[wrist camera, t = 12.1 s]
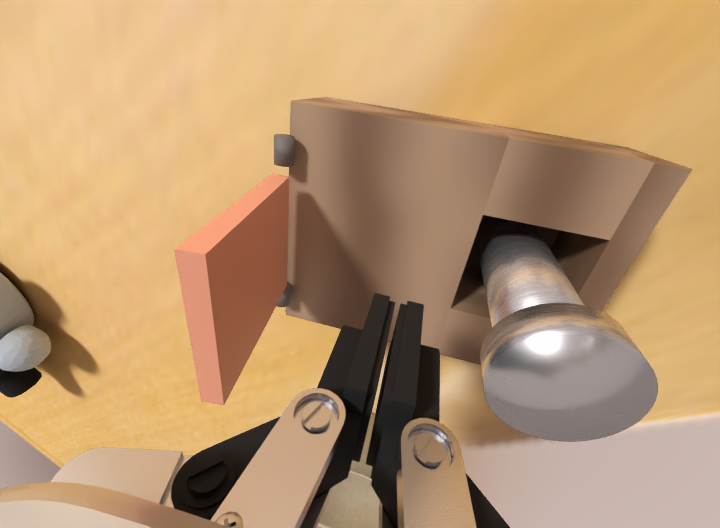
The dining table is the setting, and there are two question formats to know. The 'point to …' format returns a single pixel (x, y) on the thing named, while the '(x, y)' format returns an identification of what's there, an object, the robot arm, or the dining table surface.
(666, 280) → the dining table surface
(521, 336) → the pin
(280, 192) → the plate
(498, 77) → the dining table surface
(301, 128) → the block
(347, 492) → the beige bowl
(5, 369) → the figurine
